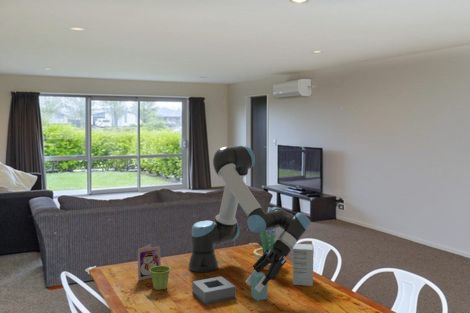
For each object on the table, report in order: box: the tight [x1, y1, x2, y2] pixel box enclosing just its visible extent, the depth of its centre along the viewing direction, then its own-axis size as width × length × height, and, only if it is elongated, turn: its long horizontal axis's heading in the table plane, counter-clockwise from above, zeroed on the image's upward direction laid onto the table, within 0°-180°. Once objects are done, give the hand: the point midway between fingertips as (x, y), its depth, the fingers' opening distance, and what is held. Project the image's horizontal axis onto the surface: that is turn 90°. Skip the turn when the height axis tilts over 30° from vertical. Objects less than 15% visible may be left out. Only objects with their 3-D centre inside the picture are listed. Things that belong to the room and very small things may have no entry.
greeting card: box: [137, 243, 162, 281], centre depth 205 cm, size 11×7×15 cm, turn 123°
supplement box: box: [292, 243, 314, 287], centre depth 196 cm, size 10×9×17 cm
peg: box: [250, 271, 268, 301], centre depth 179 cm, size 5×5×10 cm
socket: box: [192, 276, 236, 305], centre depth 182 cm, size 14×14×5 cm
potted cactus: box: [252, 228, 277, 271], centre depth 217 cm, size 15×15×25 cm
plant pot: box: [150, 265, 171, 291], centre depth 191 cm, size 9×9×9 cm
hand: (252, 287), depth 177 cm, fingers open, 8 cm apart
